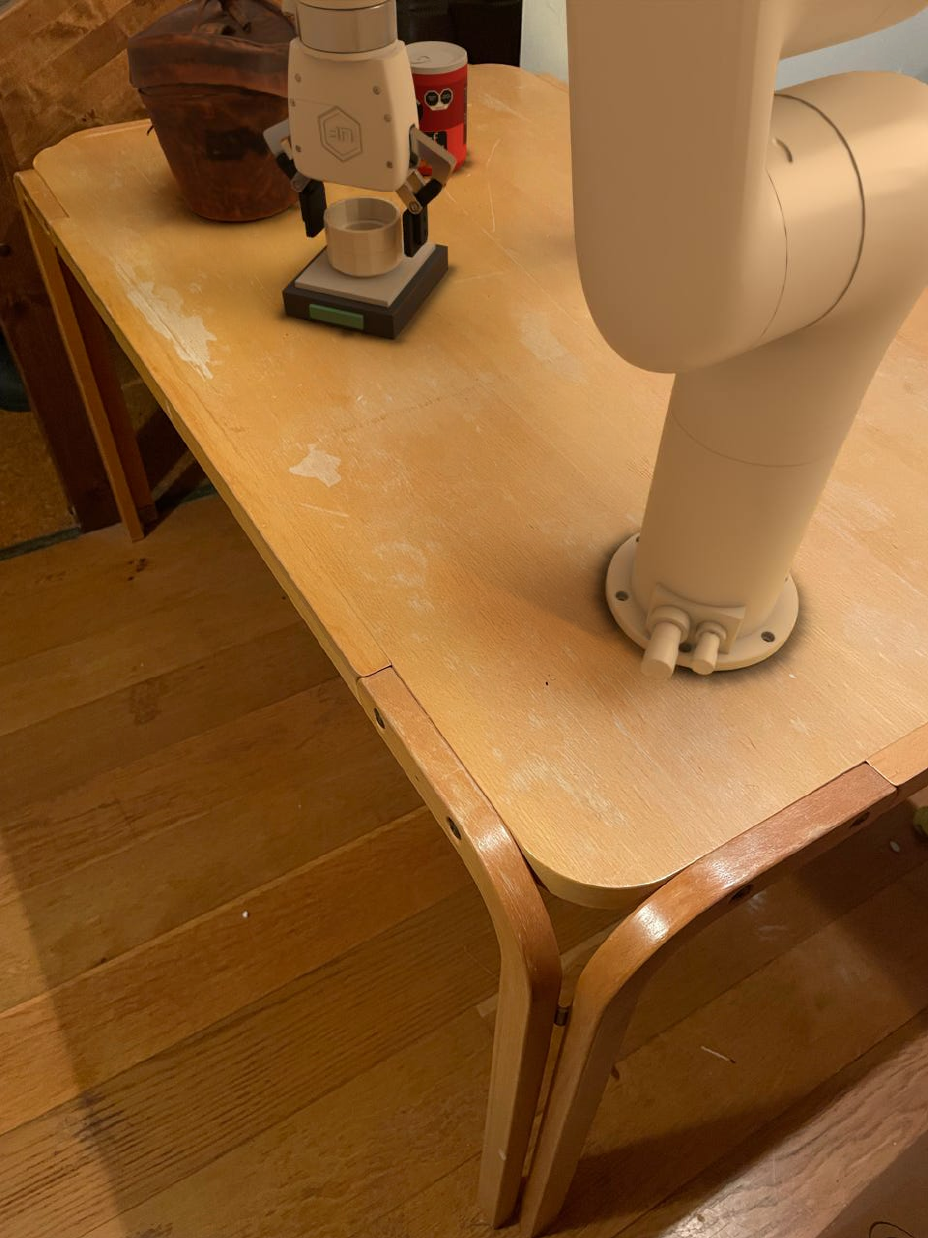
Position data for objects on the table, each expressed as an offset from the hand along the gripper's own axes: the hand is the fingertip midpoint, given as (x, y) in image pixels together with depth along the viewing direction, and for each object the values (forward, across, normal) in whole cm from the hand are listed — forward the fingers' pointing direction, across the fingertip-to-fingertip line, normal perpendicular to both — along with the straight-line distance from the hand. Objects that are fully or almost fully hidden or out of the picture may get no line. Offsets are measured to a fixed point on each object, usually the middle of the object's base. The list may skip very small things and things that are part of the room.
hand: (365, 240), depth 81 cm
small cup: (+2, 0, 0) cm, 2 cm away
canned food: (+5, -5, +28) cm, 29 cm away
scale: (+5, 0, 0) cm, 5 cm away
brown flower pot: (+5, -21, +13) cm, 25 cm away
